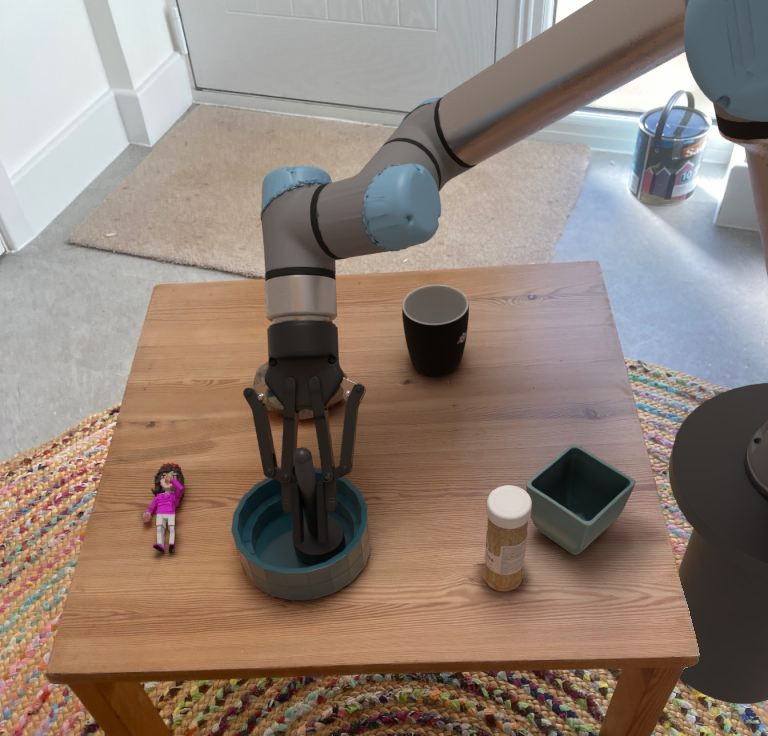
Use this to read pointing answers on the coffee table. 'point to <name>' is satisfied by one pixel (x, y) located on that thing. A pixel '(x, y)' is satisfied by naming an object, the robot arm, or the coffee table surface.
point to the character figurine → (166, 502)
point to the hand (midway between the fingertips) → (311, 541)
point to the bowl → (276, 549)
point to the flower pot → (577, 498)
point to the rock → (277, 406)
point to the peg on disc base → (314, 516)
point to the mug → (435, 328)
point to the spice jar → (506, 537)
